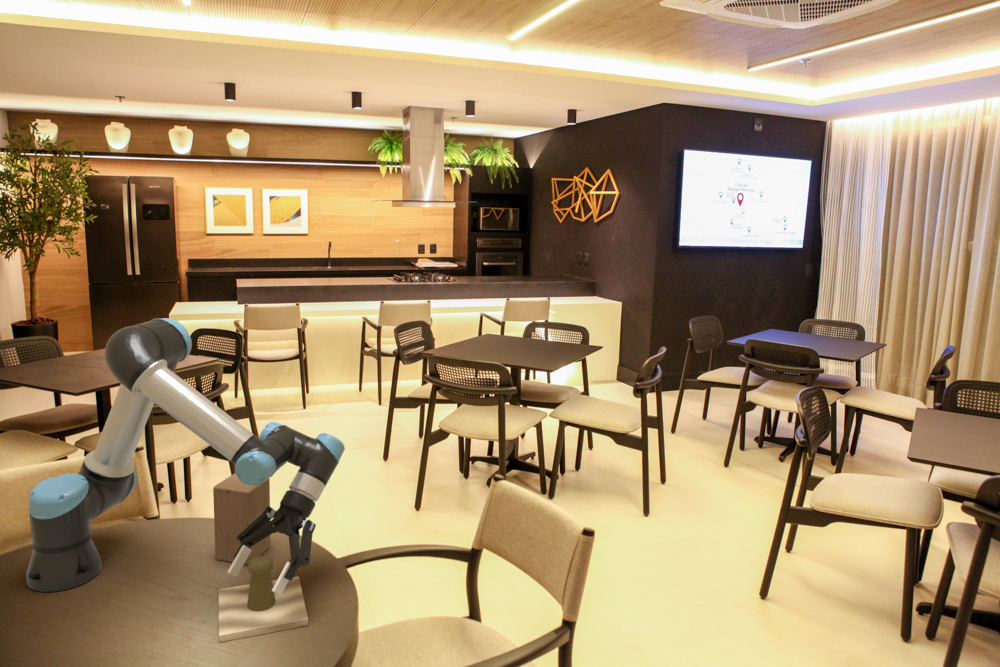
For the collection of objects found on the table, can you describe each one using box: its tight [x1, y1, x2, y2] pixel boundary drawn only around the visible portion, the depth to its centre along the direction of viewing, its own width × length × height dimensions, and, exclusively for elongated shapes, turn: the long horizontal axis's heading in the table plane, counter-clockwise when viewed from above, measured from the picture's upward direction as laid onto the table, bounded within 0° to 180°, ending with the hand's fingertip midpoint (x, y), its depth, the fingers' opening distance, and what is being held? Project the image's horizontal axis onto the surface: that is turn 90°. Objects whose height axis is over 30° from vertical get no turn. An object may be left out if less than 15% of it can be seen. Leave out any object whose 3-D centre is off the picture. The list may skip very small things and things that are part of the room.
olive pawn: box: [247, 555, 275, 611], centre depth 149 cm, size 6×6×11 cm
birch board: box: [218, 576, 309, 643], centre depth 150 cm, size 18×18×2 cm
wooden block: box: [212, 472, 271, 566], centre depth 171 cm, size 10×10×20 cm
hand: (253, 583), depth 147 cm, fingers open, 13 cm apart
